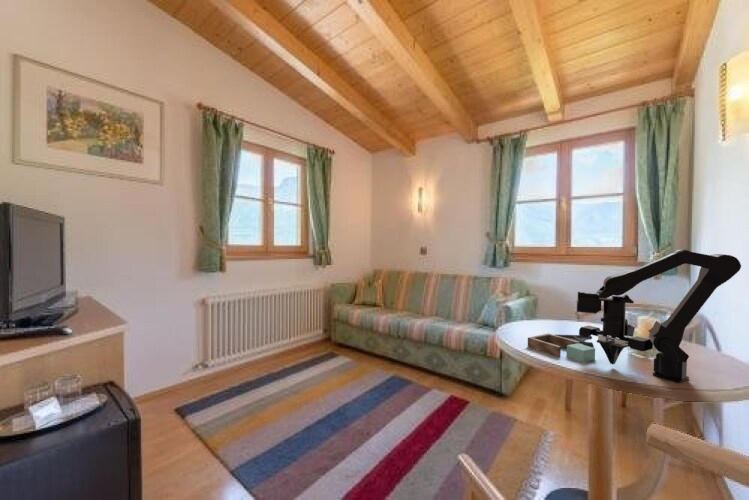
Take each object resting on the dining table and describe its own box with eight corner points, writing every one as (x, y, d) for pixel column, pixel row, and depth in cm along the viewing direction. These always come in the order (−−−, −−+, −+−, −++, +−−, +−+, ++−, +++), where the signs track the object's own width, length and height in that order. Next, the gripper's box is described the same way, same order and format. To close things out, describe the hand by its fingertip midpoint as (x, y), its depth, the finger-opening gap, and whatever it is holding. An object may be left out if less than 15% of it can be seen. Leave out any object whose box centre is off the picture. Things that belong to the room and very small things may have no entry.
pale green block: (594, 359, 113) (595, 348, 113) (583, 362, 110) (583, 350, 110) (577, 354, 118) (578, 343, 118) (566, 356, 116) (566, 345, 116)
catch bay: (579, 351, 121) (579, 341, 121) (558, 356, 115) (558, 346, 115) (548, 342, 132) (548, 333, 132) (527, 346, 126) (527, 337, 126)
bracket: (571, 349, 125) (572, 342, 124) (553, 337, 139) (554, 331, 139) (612, 351, 123) (612, 344, 123) (589, 339, 138) (589, 332, 138)
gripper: (662, 319, 101) (660, 369, 101) (597, 307, 117) (595, 351, 118) (644, 323, 95) (642, 376, 96) (578, 310, 112) (577, 356, 112)
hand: (612, 363), depth 106 cm, fingers closed
